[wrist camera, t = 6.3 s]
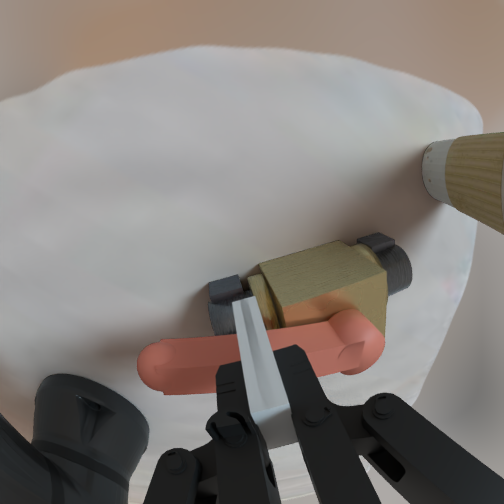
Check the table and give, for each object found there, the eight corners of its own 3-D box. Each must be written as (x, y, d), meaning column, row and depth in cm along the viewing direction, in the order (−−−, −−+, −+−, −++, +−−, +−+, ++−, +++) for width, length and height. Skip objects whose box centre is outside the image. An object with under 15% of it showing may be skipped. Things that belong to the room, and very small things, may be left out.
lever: (367, 304, 16) (391, 327, 13) (359, 344, 17) (379, 368, 14) (135, 330, 14) (125, 361, 11) (148, 371, 15) (142, 403, 12)
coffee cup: (471, 196, 23) (572, 230, 9) (422, 233, 24) (541, 293, 10) (452, 114, 20) (567, 119, 6) (396, 139, 20) (547, 148, 6)
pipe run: (224, 334, 24) (233, 395, 17) (203, 276, 22) (204, 329, 15) (380, 283, 25) (427, 319, 18) (378, 225, 23) (434, 251, 16)
